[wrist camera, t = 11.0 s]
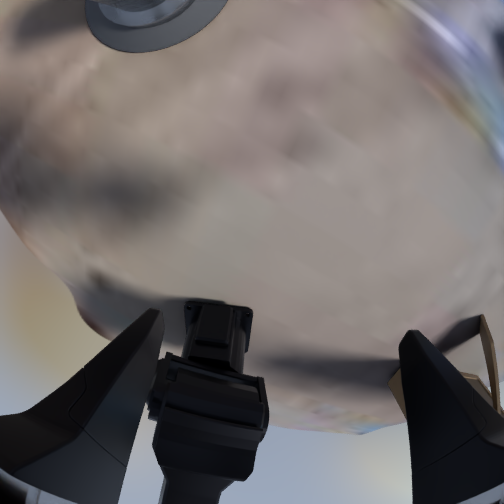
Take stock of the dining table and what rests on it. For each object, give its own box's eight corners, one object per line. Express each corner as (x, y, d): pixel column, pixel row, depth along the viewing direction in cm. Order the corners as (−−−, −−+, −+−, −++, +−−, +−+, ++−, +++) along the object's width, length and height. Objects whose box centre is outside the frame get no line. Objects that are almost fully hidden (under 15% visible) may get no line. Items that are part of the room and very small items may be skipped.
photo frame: (460, 389, 38) (491, 503, 17) (385, 377, 34) (414, 547, 13) (518, 335, 30) (569, 454, 9) (464, 302, 26) (541, 496, 5)
